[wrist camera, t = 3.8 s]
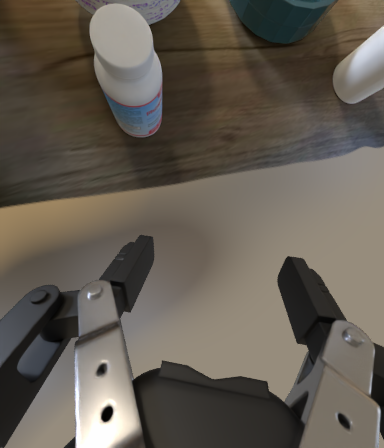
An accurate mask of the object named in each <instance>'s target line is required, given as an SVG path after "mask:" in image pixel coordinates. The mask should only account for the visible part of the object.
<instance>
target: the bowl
mask: <svg viewBox="0 0 384 448" xmlns="http://www.w3.org/2000/svg"><path fill="white" fill-rule="evenodd" d="M229 1H230V3H231V6H232V7H233V9H234V10H235V12H236V14H237V15H238V17H239V18H240V20H241V21H242V22H243V23H244V24H245V25H246V26H247V27H248V28H249V29H250V30H251V31H252V32H253V33H254V34H255V35H257V36H259V37H261V38H263V39H266V40H268V41H270V42H275V43H284V44H288V43H291V42H295V41H299V40H302V39H303V38H304V37H305V36H307V35H308V34H309V33H311V32H312V31H313V30H314V29H315V28H316V27H317V25H318V24H319V23H320V22H321V21H322V19H323V18H324V17H325V16H326V15H327V13H328V12H329V11H330V10H331V9H332V7H333V6H334V5H335V4H336V3H337V1H338V0H229Z"/></svg>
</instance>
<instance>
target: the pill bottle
mask: <svg viewBox="0 0 384 448" xmlns="http://www.w3.org/2000/svg"><path fill="white" fill-rule="evenodd" d="M89 32H90V39H91V42H92V45H93V48H94V51H95V56H94V68H95V73H96V76H97V79H98V82H99V84H100V86H101V88H102V90H103V93H104V95H105V97H106V99H107V101H108V103H109V106H110V108H111V110H112V112H113V114H114V117H115V119H116V121H117V123H118V125H119V126H120V127H121V129H122V130H123V131H124V132H126V133H127V134H129V135H131V136H134V137H148V136H150V135H152V134H154V133H155V132H156V131H157V130H158V128H159V127H160V124H161V120H162V69H161V64H160V61H159V58H158V56H157V54H156V53H155V51H154V47H153V37H152V33H151V30H150V27H149V25H148V23H147V22H146V20H145V19H144V18H143V17H142V16H141V14H139V13H138V12H137V11H136V10H134V9H132V8H131V7H129V6H126V5H123V4H108V5H105V6H103V7H101V8H100V9H98V10H97V11H96V12H95V14H94V15H93V17H92V19H91V22H90V31H89Z"/></svg>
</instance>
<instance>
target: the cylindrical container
mask: <svg viewBox="0 0 384 448" xmlns="http://www.w3.org/2000/svg"><path fill="white" fill-rule="evenodd" d="M333 86H334V90H335V92H336V94H337V96H338V97H339V98H340V99H341V100H342V101H344V102H346V103H349V104H355V103H357V102H359V101H361V100H363V99H365V98H367V97H368V96H370V95H372V94H374V93H375V92H377V91H379V90H381V89H382V88H384V26H383V27H381V28H380V29H379V30H378V31H377V32H375V33H374V34H373V35H372V36H371V37H370V38H368V39H367V40H366V41H365V42H364V43H362V44H361V45H360V46H359V47H358V48H356V49H355V50H354V51H353V52H352V53H351V54H349V55H348V56H347V57H346V58H345V59H343V60H342V61H341V62H340V63H339V64H338V65H337V67H336V68H335V70H334V74H333Z"/></svg>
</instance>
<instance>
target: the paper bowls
mask: <svg viewBox="0 0 384 448" xmlns="http://www.w3.org/2000/svg"><path fill="white" fill-rule="evenodd" d="M76 1H77V2H78V3H79V4H80V5H81V6H82V7H83V8H84V9H86V10H87V11H88V12H89V13H91V14H93V15H94V14H95V12H96V11H97V10H98V9H100V8H101V7H103V6H105V5H108V4H123V5H126V6H129V7H131V8H132V9H134V10H136V11H137V12H138V13H139V14H141V16H142V17H143V18H144V19H145V20H146V22H147V23H148V25H150V24H152V23H155V22H157V21H160V20H162V19H164V18H165V17H166V16H167V15H168V14H170V13H171V12H172V11H173V10H174V9H175V8H176V7H177V5H178V4H179V2H180V0H76Z"/></svg>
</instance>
